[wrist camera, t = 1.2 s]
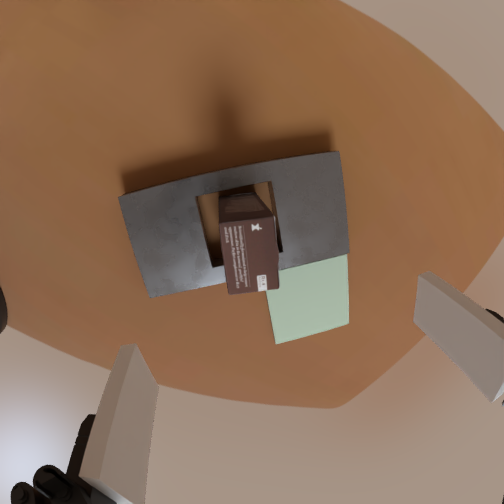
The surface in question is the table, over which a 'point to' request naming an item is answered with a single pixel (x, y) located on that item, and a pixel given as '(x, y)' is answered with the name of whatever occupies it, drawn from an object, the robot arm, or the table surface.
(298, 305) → the pad
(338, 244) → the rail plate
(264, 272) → the box
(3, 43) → the table surface
